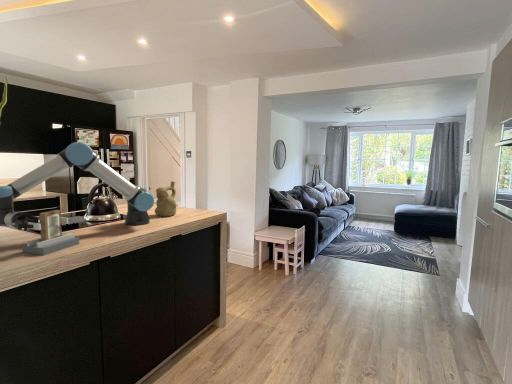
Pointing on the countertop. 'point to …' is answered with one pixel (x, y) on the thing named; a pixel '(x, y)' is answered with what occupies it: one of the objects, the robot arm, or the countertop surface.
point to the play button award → (75, 220)
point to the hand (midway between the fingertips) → (54, 223)
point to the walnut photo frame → (50, 225)
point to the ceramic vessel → (166, 201)
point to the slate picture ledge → (50, 244)
